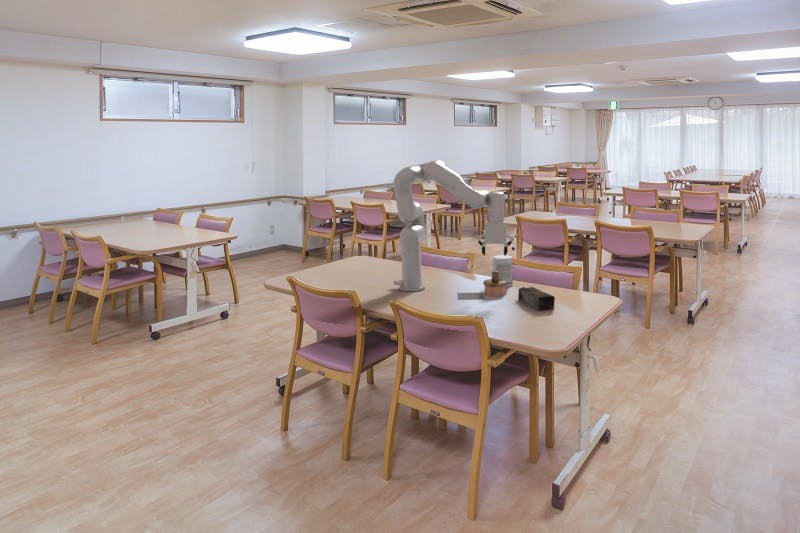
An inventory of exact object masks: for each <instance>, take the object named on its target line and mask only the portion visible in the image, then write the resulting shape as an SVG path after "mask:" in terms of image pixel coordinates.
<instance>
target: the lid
mask: <svg viewBox="0 0 800 533" xmlns="http://www.w3.org/2000/svg"><path fill="white" fill-rule="evenodd" d="M483 285H484V286H485V285H486V286H490V287H502V286H506V285H507V281H505V280H501V279H499V271H493V270H492V271H491V279H490V278H489V279H485V280H483Z"/></svg>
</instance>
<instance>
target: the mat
mask: <svg viewBox="0 0 800 533" xmlns="http://www.w3.org/2000/svg"><path fill="white" fill-rule="evenodd" d="M456 294H457V295H456V296H457V300H458V301H461V300H463V301H465V300H467V301H469V300H472V301H473V300H475V301H476V300H479V301H480V300H485V297H484V293H483V292H457V293H456Z"/></svg>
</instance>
